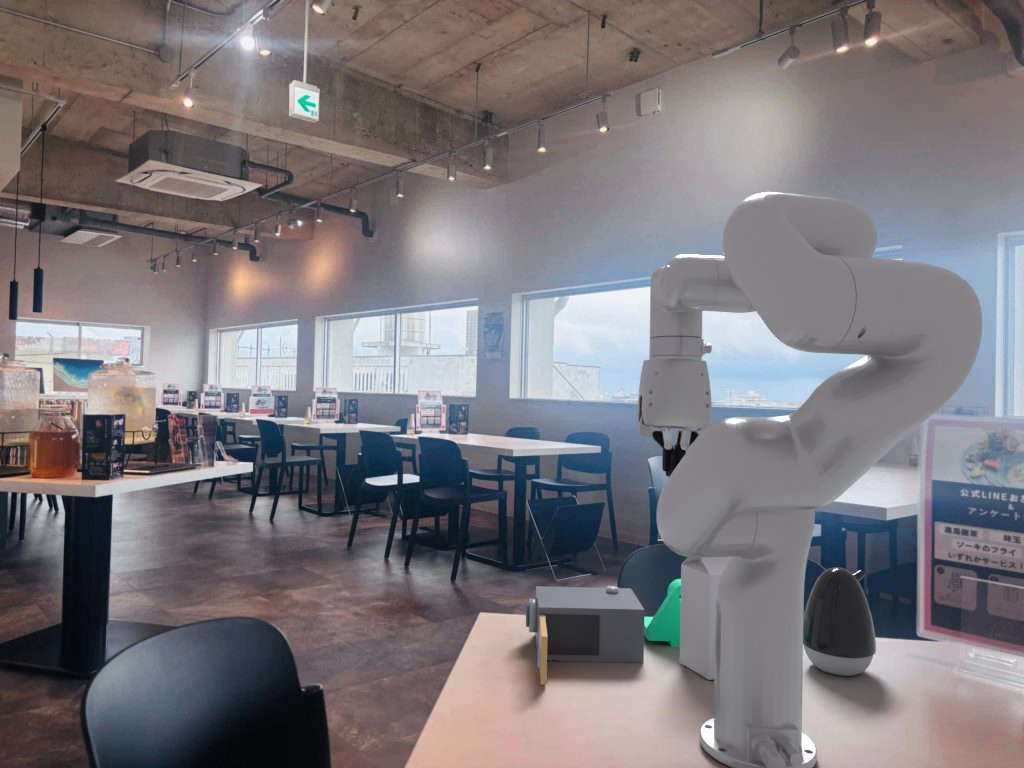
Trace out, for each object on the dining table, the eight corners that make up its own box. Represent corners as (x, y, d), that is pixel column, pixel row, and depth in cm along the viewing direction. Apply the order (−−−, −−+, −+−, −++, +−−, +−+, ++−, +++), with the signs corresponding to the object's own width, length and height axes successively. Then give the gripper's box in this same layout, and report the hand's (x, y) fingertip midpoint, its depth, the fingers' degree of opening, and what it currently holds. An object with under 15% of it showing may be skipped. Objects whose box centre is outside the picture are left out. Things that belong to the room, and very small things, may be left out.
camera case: (643, 663, 106) (644, 605, 106) (526, 660, 106) (527, 602, 106) (630, 636, 118) (630, 584, 119) (524, 633, 118) (526, 581, 119)
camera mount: (706, 632, 122) (707, 572, 122) (721, 648, 114) (722, 584, 114) (637, 631, 121) (638, 572, 122) (648, 647, 114) (649, 583, 114)
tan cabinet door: (537, 684, 96) (538, 636, 96) (535, 658, 106) (536, 614, 106) (547, 684, 96) (548, 636, 96) (544, 658, 106) (545, 614, 106)
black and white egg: (892, 676, 103) (893, 572, 103) (842, 687, 99) (843, 578, 99) (833, 653, 112) (834, 557, 113) (785, 662, 108) (787, 562, 108)
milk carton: (749, 675, 102) (750, 544, 103) (708, 681, 100) (710, 547, 100) (717, 658, 109) (719, 535, 110) (679, 663, 106) (681, 537, 107)
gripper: (717, 354, 107) (715, 474, 107) (620, 352, 107) (618, 473, 106) (734, 350, 100) (733, 480, 99) (630, 348, 99) (628, 478, 99)
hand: (673, 476), depth 103 cm, fingers closed
